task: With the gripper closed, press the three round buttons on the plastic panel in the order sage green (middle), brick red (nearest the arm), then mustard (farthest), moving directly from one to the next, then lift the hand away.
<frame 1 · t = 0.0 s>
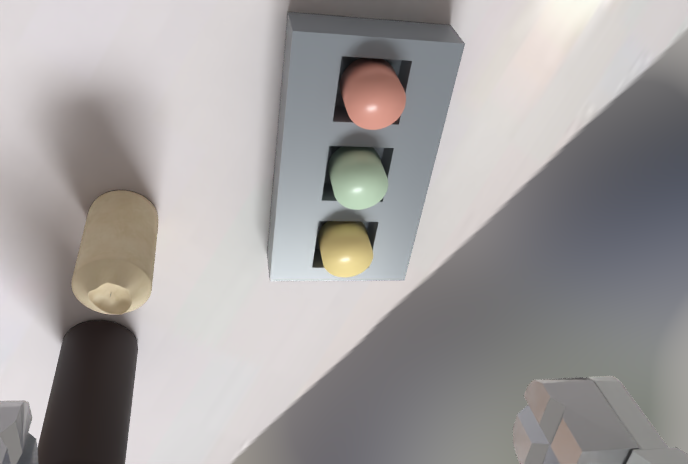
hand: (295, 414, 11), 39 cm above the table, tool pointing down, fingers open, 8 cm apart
sage button: (357, 176, 51), point 4 cm above the table, slide at 0.0 cm
bottle: (101, 341, 63), on the table
brick button: (372, 93, 47), point 4 cm above the table, slide at 0.0 cm
candle: (124, 215, 54), on the table
button panel: (349, 151, 54), on the table
mustard button: (345, 246, 55), point 4 cm above the table, slide at 0.0 cm
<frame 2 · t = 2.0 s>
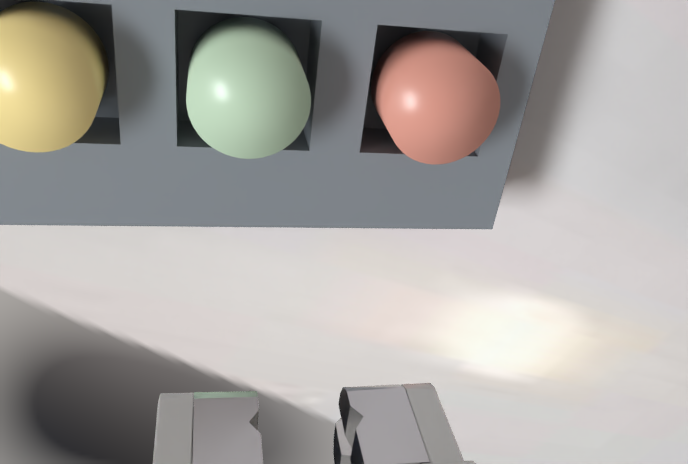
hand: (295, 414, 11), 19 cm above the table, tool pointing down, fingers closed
sage button: (247, 87, 24), point 4 cm above the table, slide at 0.0 cm
brick button: (432, 97, 25), point 4 cm above the table, slide at 0.0 cm
button panel: (242, 55, 27), on the table
mustard button: (37, 76, 22), point 4 cm above the table, slide at 0.0 cm
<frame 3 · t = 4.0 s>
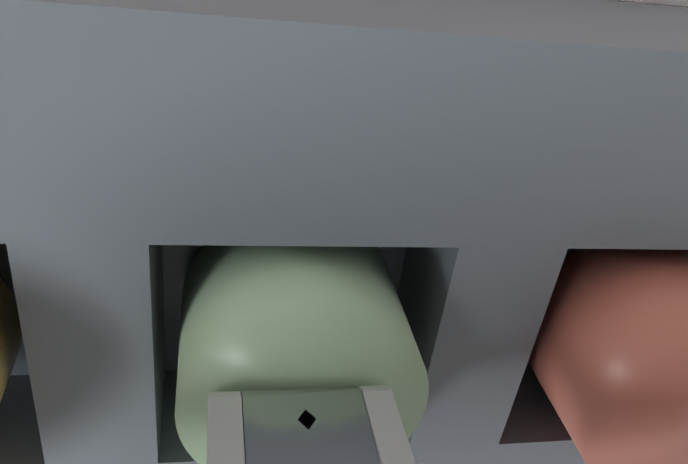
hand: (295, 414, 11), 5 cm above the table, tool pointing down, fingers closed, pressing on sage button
sage button: (296, 348, 12), point 3 cm above the table, slide at 0.6 cm, touching gripper
brick button: (650, 360, 13), point 4 cm above the table, slide at 0.0 cm
button panel: (281, 253, 15), on the table
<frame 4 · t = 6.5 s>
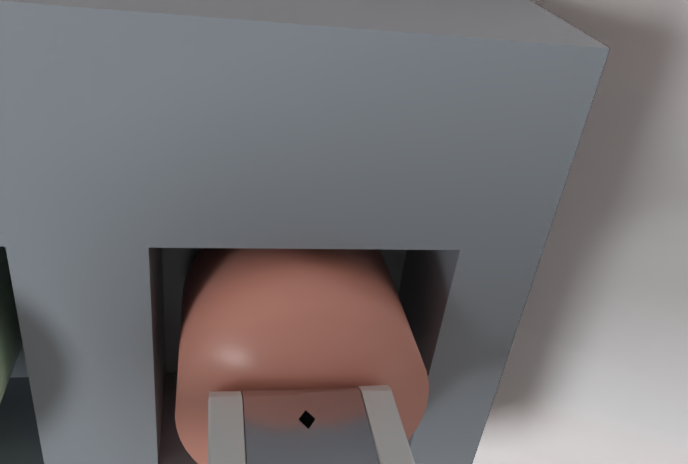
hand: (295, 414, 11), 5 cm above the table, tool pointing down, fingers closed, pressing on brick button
brick button: (296, 348, 12), point 3 cm above the table, slide at 0.6 cm, touching gripper
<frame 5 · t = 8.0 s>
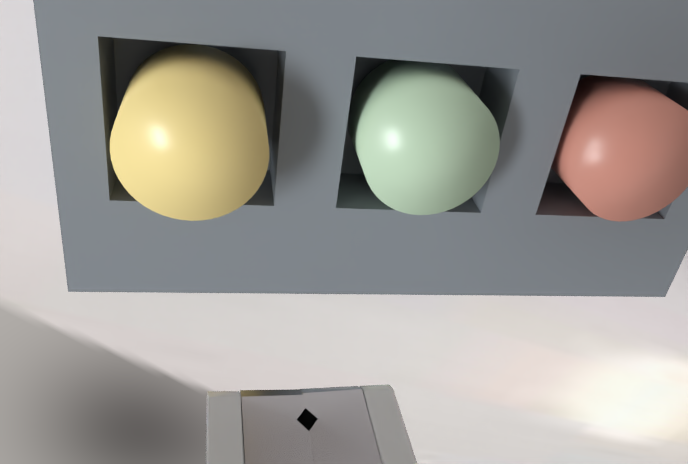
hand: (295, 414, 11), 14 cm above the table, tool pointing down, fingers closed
sage button: (419, 134, 21), point 3 cm above the table, slide at 0.7 cm
brick button: (618, 145, 22), point 3 cm above the table, slide at 0.7 cm
button panel: (399, 100, 23), on the table
mustard button: (193, 131, 19), point 4 cm above the table, slide at 0.0 cm
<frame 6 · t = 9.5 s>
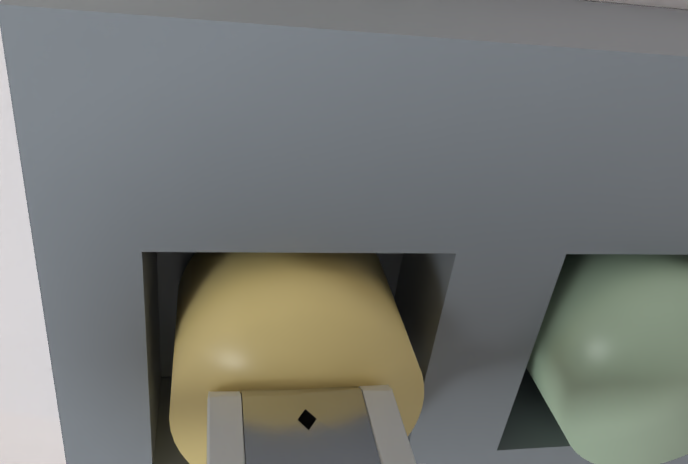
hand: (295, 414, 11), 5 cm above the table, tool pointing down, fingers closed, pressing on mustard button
sage button: (629, 340, 14), point 3 cm above the table, slide at 0.7 cm
button panel: (565, 259, 16), on the table
mustard button: (291, 350, 12), point 3 cm above the table, slide at 0.7 cm, touching gripper
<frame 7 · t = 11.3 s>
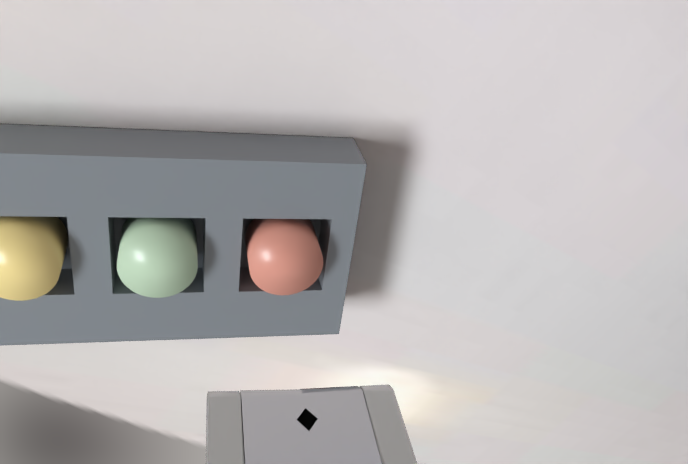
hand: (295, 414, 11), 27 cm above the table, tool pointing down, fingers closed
sage button: (158, 251, 37), point 3 cm above the table, slide at 0.7 cm
brick button: (283, 250, 38), point 3 cm above the table, slide at 0.7 cm
button panel: (160, 223, 39), on the table
mustard button: (21, 251, 35), point 3 cm above the table, slide at 0.7 cm
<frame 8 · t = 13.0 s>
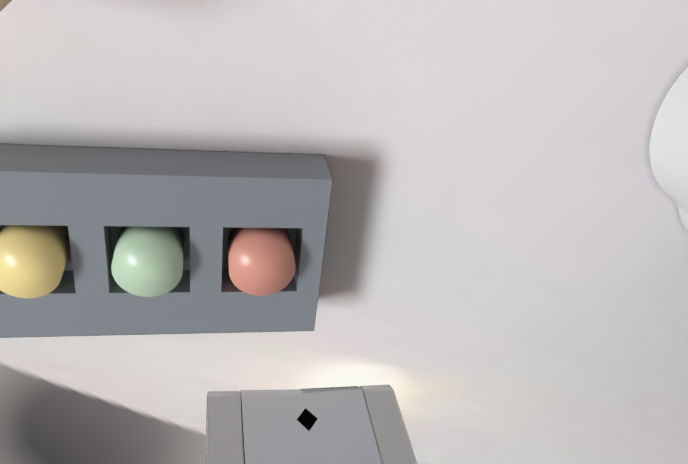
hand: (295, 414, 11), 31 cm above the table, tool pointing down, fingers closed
sage button: (149, 255, 41), point 3 cm above the table, slide at 0.7 cm
brick button: (260, 256, 43), point 3 cm above the table, slide at 0.7 cm
button panel: (152, 230, 44), on the table
mustard button: (29, 255, 40), point 3 cm above the table, slide at 0.7 cm
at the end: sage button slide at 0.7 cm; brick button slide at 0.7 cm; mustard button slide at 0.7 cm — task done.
